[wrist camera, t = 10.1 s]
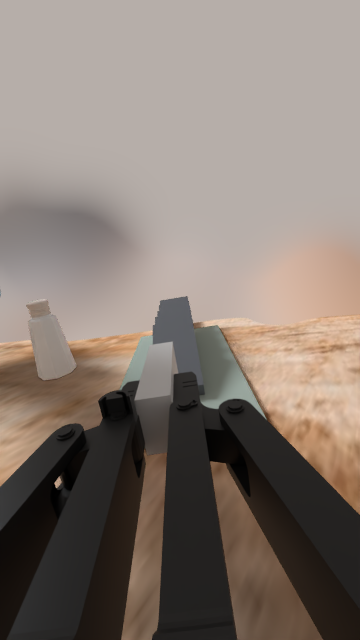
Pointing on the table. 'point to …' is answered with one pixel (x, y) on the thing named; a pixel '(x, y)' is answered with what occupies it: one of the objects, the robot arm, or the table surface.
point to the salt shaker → (48, 342)
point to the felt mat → (205, 368)
